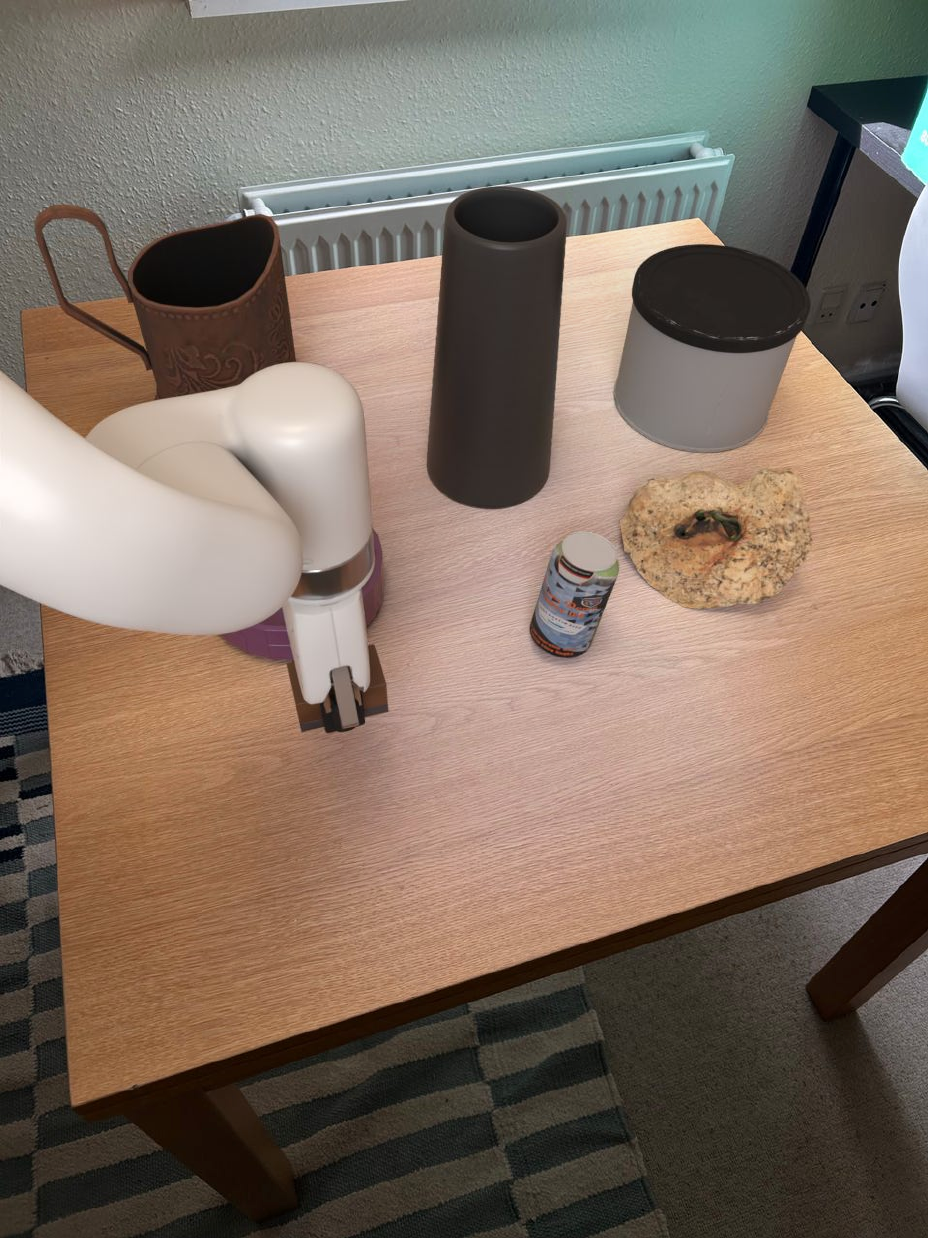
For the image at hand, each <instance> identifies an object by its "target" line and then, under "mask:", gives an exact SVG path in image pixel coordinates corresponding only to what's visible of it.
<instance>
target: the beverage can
mask: <svg viewBox="0 0 928 1238" xmlns="http://www.w3.org/2000/svg"><path fill="white" fill-rule="evenodd" d="M619 573H620V564H619V559H618V552H617V549H616V547H615V545H614V544H613V543H612V542H611V541H610V540H609V539H608V538H607V537H604V536H602V535H600V534H598V533H595V532H593V531H592V532H591V531H587V530H579V531H578V530H577V531H573V532H571V533H569V534H567V535H565V537H563V539H562V540H561V541H559V542H558V543H557V544H556V545H555V546H554V548H553V549H552V552H551V555H550V557H549V561H548V565H547V568H546V571H545V574H544V578H543V581H542V584H541V588H540V591H539V594H538V597H537V600H536V603H535V607H534V610H533V613H532V617H531V620H530V623H529V629H528V630H529V635H530V637H531V639H532V641H533V643H534V644H535V645H536V646H537V647H538V648H539V649H540V650H541V651H544V652H545V653H547V654H549V655H550V656H554V657H558V658H564V659H570V658H577V657H579V656H582V655H583V654H585V653H586V652H587V651H589V649H590V648H591V646H592V644H593V641H594V638H595V635H596V634H597V630H598V628H599V625H600V623H601V620H602V617H603V615H604V612H605V610H606V607H607V604H608V602H609V599H610V597H611V594H612V592H613V589H614V586H615V584H616V581H617V579H618V577H619Z"/></svg>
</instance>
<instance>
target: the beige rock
mask: <svg viewBox="0 0 928 1238" xmlns="http://www.w3.org/2000/svg"><path fill="white" fill-rule="evenodd" d="M802 480H803V475H802V474H801V473H800V472H799V471H798V470H796V469H794V468H793V467H784V468H774V469H773V468H771V467H768V466H765V467H762V468H760V469H759V470H758V471H757V472H756V473H755V474H753V475H752V476H751V477H749V478H748V479H747V480H746V482H743V483H741V484H736V483H734V482H733V481H730V480H728V479H727V478H724V477H722V476H720V475H718V474H716V473H714V472H710V471H705V470H696V471H692V472H688V473H686V474H685V475H683V476H679V477H678V478H672V477H661V476H660V477H659V478H658V479H656V478H649V479H647V480H646V481H645V483H644V484H643V483H641V484H640V485H639V486H637V488H636V489H635V490H634V492H633V493H632V494H633V495H632V497H630V499H629V503H628V507H627V511H626V514H625V515H624V517H623V518H620V519H619V525H620V526H619V527H620V532H621V538H622V544H623V550H624V553H628V554H629V556H630V559H631V560H632V563H633V564H634V566H635V567H636V571H637V572H638V574H639V575H640V576H642V579H644V580H645V581H646V582H647V584H648V585H649V586H651V587H652V588H653V589H655V591H659V592H660V594H661V595H663V596H664V597H665V598H666V599H668V600H670V601H672V602H674V603H677V604H678V605H679V606H681V607H683V608H685V609H686V608H689V609H700V610H707V609H713V608H714V609H715V608H722V607H723V608H724V607H732V606H734V605H757V604H762V603H764V601H765V600H768V599H770V598H771V597H773V596H775V595H778V594H779V593H780V592H781V591H782V590H783V588H784V586H786V585H787V583H788V582H789V580H790V579H791V577H793V575H794V573H795V571H797V570H798V568H799V567H801V566H802V564H803V563H805V561H806V560H807V555H808V554H809V552H810V550H811V548H812V545H813V541H814V540H813V534H812V531H811V526H810V525H811V524H810V521H811V520H810V519H811V518H810V515H809V514H810V513H809V510H808V508H807V507H806V506H807V503H806V498H805V497H806V495H807V494H806V491H805V489H804V486H803V482H802Z"/></svg>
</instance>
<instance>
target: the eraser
mask: <svg viewBox="0 0 928 1238" xmlns="http://www.w3.org/2000/svg"><path fill="white" fill-rule="evenodd" d="M368 651H369V663H370V685H369V687H368V689H367V690H366V691H365V692H363V690H360V691H361V693H362V696H363V705H364V714H365V718H369V717H374V716H378V715H381V714H385V713H389V699H388V686H387V680H386V677H385V674H384V671H383V667H382V664H381V661H380V657H379V654H378V650H377V647H376V644H374V643H372V644H368ZM286 669H287V673H288V677H289V681H290V687H291V691H292V695H293V696H292V697H293V700H294V704H295V709H296V714H297V718H298V723H299V728H300V732H301V733H305V732H309V731H314V730H317V729H323V728H324V724H323V719H322V713H321V707H320V703H317V704H309V703H308V702H306V701H305V700H304V698H303V695H302V692H301V688H300V684H299V680H298V675H297V671H296V667H295V663H294V661H290V662H287V663H286ZM334 693H335V692H334V689H332V690H330V691H329V694H334Z"/></svg>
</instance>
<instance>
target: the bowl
mask: <svg viewBox="0 0 928 1238" xmlns="http://www.w3.org/2000/svg"><path fill="white" fill-rule="evenodd" d="M373 539H374V552H375V565H374V570H373V573H372V574H371V576H370V578H369V580H368V581H367V582H366V584H365V585H364V586H363V587H362V596H363V604H364V611H365V622H366V628H367V627H368V626H369V625H370V624H371V622H372V621H373V620H374V619H375V617H376V615H377V613H378V611H379V609H380V606H381V604H382V602H383V599H384V589H385V575H384V573H385V572H384V557H383V556H384V554H383V548H382V544H381V541H380V537H379V534H378V533H377V532H376V530H375V529H374V528H373ZM219 636H221V637H222V638H223V639H224V641H226V642H227V643H229V644H230V645H231V646H233V647H235V648H237V649H239V650H240V651H243V653H244V652H245V653H246V654H248V655H252V656H257V657H260V658H264V659H269V660H280V661H281V660H282V661H285V660H287V661H294V659H293V654H292V650H291V646H290V642H289V637H288V632H287V628H286V623H285V618H284V614H283V609H282V607H281V608H280V609H279V610H278V611H277V612H275V613H274V614H273V615H271V616H270V617H268V618H267V619H265V620H264V621H262V622H260V623H258V624H255V625H253V626H251V627H249V628H246V629H242V630H239V631H236V632H231V633H225V634H219Z"/></svg>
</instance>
